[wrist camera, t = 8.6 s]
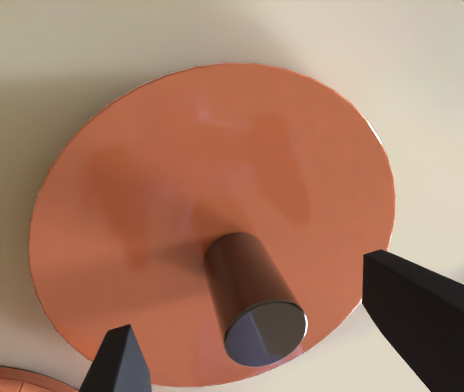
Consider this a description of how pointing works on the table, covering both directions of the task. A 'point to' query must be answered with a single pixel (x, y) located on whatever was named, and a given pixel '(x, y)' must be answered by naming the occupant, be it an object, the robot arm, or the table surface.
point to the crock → (29, 382)
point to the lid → (212, 221)
